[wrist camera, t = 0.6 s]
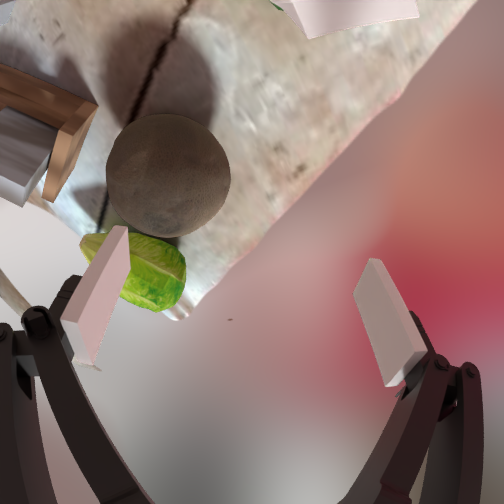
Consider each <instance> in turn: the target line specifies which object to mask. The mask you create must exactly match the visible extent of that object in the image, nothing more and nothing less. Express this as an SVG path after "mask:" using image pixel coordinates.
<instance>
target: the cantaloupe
mask: <svg viewBox="0 0 504 504" xmlns="http://www.w3.org/2000/svg"><path fill="white" fill-rule="evenodd" d="M230 181H231V175H230V167H229V162H228V159H227V156H226V154H225V151H224V150H223V148H222V146H221V145H220V144H219V142H218V141H217V139H216V138H215V137H214V135H213V134H212V133H211V132H210V131H209V130H208V129H207V128H205V127H204V126H203V125H201V124H200V123H198V122H196V121H194V120H191V119H189V118H187V117H184V116H181V115H176V114H156V115H149V116H145V117H142V118H140V119H137V120H135V121H133V122H132V123H130V124H129V125H128V126H126V127H125V128H124V129H123V131H122V132H121V133H120V134H119V135H118V136H117V138H116V140H115V142H114V145H113V148H112V150H111V152H110V155H109V157H108V160H107V164H106V182H107V188H108V194H109V198H110V201H111V203H112V205H113V207H114V208H115V210H116V212H117V213H118V215H119V216H120V217H121V218H122V219H123V220H124V221H126V222H127V223H128V224H130V225H131V226H133V227H134V228H136V229H137V230H139V231H141V232H143V233H146V234H149V235H153V236H157V237H165V238H171V237H178V236H183V235H187V234H189V233H191V232H193V231H195V230H197V229H198V228H200V227H201V226H203V225H205V224H206V223H207V222H208V221H209V220H211V219H212V218H213V217H214V216H215V215H216V214H217V212H218V211H219V210H220V209H221V207H222V206H223V204H224V202H225V199H226V197H227V194H228V191H229V188H230Z"/></svg>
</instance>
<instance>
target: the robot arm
mask: <svg viewBox="0 0 504 504" xmlns="http://www.w3.org/2000/svg"><path fill="white" fill-rule="evenodd" d="M130 269H131V267H130V255H129V240H128V227H126V226H117V225H114V226H113V228H112V229H111V231H110V233H109V234H108V236H107V237H106V239H105V240H104V242H103V244H102V245H101V247H100V248H99V250H98V252H97V253H96V255H95V257H94V258H93V260H92V262H91V263H90V265H89V267H88V268H87V270H86V272H85V273H84V275H83V276H78V275H72V276H71V277H70V278H68V279H67V280H66V281H65V282H64V284H63V286H62V287H61V289H60V291H59V292H58V294H57V297H56V298H55V299H54V301H53V303H52V304H51V306H50V308H49V310H48V309H47V308H46V307H43V306H33V307H31V308H29V309H27V310H26V311H25V312H24V313H23V315H22V318H21V325H22V327H23V329H24V330H22V331H13V329H12V328H11V326H10V325H9V324H7V323H0V504H57V500H56V497H55V494H54V490H53V487H52V483H51V479H50V475H49V471H48V467H47V463H46V458H45V453H44V448H43V443H42V437H41V432H40V425H39V418H38V411H37V403H36V394H35V393H36V392H35V380H34V376H40V379H41V382H42V385H43V387H44V390H45V393H46V396H47V398H48V401H49V404H50V406H51V409H52V411H53V413H54V416H55V418H56V421H57V423H58V425H59V427H60V430H61V432H62V434H63V436H64V438H65V440H66V442H67V445H68V447H69V449H70V451H71V453H72V454H73V456H74V458H75V460H76V462H77V464H78V466H79V468H80V469H81V471H82V473H83V475H84V476H85V478H86V480H87V482H88V483H89V485H90V487H91V488H92V490H93V492H94V493H95V495H96V496H97V498H98V500H99V502H100V504H155V503H154V502H153V501H152V499H151V498H150V497H149V496H148V494H147V493H146V492H145V490H144V489H143V487H142V486H141V485H140V483H139V482H138V481H137V479H136V478H135V476H134V475H133V473H132V472H131V471H130V469H129V468H128V466H127V465H126V463H125V462H124V460H123V459H122V457H121V456H120V454H119V452H118V451H117V449H116V447H115V446H114V444H113V443H112V441H111V439H110V438H109V436H108V434H107V433H106V431H105V429H104V427H103V426H102V424H101V422H100V420H99V419H98V416H97V415H96V413H95V411H94V409H93V407H92V405H91V403H90V401H89V399H88V397H87V396H86V393H85V391H84V389H83V387H82V385H81V383H80V381H79V378H78V376H77V374H76V372H75V370H74V367H73V365H72V363H71V361H72V359H73V356H74V355H75V358H76V360H77V362H80V363H84V364H88V365H92V366H93V364H94V361H95V358H96V356H97V353H98V350H99V347H100V344H101V341H102V339H103V336H104V333H105V331H106V328H107V325H108V323H109V320H110V318H111V315H112V312H113V310H114V307H115V305H116V302H117V300H118V297H119V295H120V293H121V290H122V288H123V285H124V283H125V281H126V278H127V276H128V274H129V272H130ZM353 297H354V299H355V302H356V305H357V307H358V310H359V312H360V315H361V318H362V320H363V323H364V326H365V329H366V331H367V334H368V337H369V340H370V343H371V345H372V348H373V351H374V354H375V357H376V360H377V363H378V366H379V369H380V372H381V375H382V378H383V381H384V384H385V386H386V387H388V386H397V385H398V384H400V383H401V382H402V380H403V379H405V382H406V385H405V386H404V387H403V388H402V389H401V390H400V391H399V392H398V393H397V394H396V396H395V397H398V395H400V396H399V398H398V401H397V403H396V405H395V407H394V409H393V412H392V414H391V416H390V418H389V420H388V422H387V424H386V426H385V428H384V430H383V433H382V434H381V436H380V438H379V440H378V442H377V444H376V446H375V448H374V450H373V451H372V453H371V455H370V457H369V459H368V461H367V462H366V464H365V465H364V468H363V469H362V471H361V473H360V474H359V476H358V477H357V479H356V481H355V482H354V484H353V485H352V487H351V488H350V490H349V492H348V493H347V495H346V496H345V497H344V498H343V499H342V500H341V501H340V502H339V503H338V504H412V500H411V499H410V498H409V493H410V491H411V488H412V486H413V484H414V482H415V479H416V477H417V475H418V472H419V470H420V468H421V465H422V463H423V460H424V457H425V455H426V452H427V449H428V447H429V450H428V458H427V464H426V471H425V476H424V482H423V487H422V492H421V498H420V502H419V504H479V503H480V494H481V485H482V472H483V451H484V424H483V402H482V390H481V379H480V373H479V370H478V369H477V367H476V366H475V365H474V364H472V363H471V362H465V363H463V365H462V366H461V367H460V368H459V367H455V366H451V365H450V363H449V362H448V360H447V359H446V358H445V357H444V356H442V355H440V354H436V352H435V350H434V348H433V346H432V344H431V342H430V340H429V338H428V336H427V334H426V333H425V330H424V328H423V327H422V324H421V322H420V320H419V318H418V317H417V316H416V315H415V313H414V312H413V311H408V309H407V307H406V305H405V303H404V301H403V299H402V297H401V295H400V294H399V292H398V290H397V288H396V286H395V284H394V282H393V281H392V279H391V277H390V275H389V274H388V272H387V270H386V268H385V266H384V264H383V263H382V261H381V260H380V259H374V258H369V260H368V262H367V265H366V267H365V269H364V271H363V273H362V276H361V278H360V280H359V282H358V284H357V286H356V288H355V290H354V292H353ZM456 401H457V406H456Z"/></svg>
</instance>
